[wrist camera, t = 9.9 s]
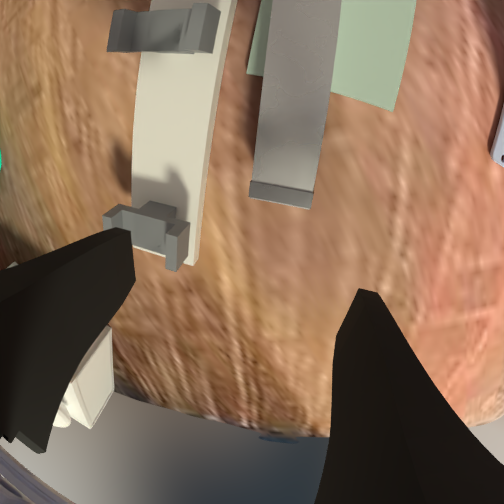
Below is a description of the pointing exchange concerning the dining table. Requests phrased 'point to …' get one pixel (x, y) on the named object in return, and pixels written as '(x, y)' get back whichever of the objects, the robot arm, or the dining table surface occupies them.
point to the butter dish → (88, 383)
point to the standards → (171, 120)
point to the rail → (294, 100)
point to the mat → (357, 48)
